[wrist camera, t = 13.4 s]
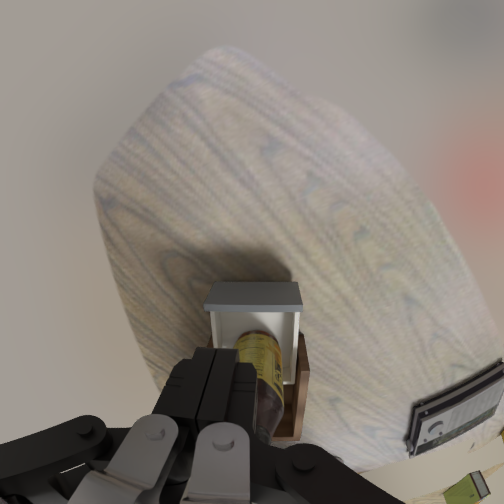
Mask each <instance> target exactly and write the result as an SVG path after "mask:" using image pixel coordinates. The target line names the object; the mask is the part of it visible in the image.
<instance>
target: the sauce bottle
mask: <svg viewBox="0 0 504 504" xmlns="http://www.w3.org/2000/svg"><path fill="white" fill-rule="evenodd" d="M233 349H239V358H240V362H248V363H253V365H254V367H255V369H256V371H257V390H258V403H257V416H256V429H255V435H256V436H257V438H258V439H259V440H261V441H262V442H263V443H265V444H267V445H270V443H271V441H272V440H271V438H272V436H273V434H274V432H275V430H276V428H277V426H278V424H279V422H280V420H281V419H282V417H283V414H284V396H283V373H282V354H281V349H280V347H279V344H278V341H277V339H276V338H275V337H274V336H272V335H270V334H269V333H267V332H265V331H261V330H253V331H248V332H245V333H243V334H242V335H241V336H240V337H239V338H238V339H237V341H236V343H235V345H234V347H233Z"/></svg>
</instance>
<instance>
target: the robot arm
mask: <svg viewBox="0 0 504 504" xmlns="http://www.w3.org/2000/svg"><path fill="white" fill-rule="evenodd" d="M257 403H258V390H257V371H256V369H255V367H254V365H253V363H248V362H240V358H239V349H230V348H208V347H197V348H196V351H195V353H194V355H193V358H192V360H191V359H182V360H181V361H180V362H179V363H178V364H176V365H175V366H174V368H173V370H172V372H171V374H170V376H169V378H168V380H167V382H166V386H164V388H163V390H162V392H161V395H160V397H159V399H158V401H157V403H156V405H155V407H154V409H153V411H152V414H150V415H147V416H143V417H141V418H140V419H138V420H137V421H136V422H135V423H134V425H133V426H132V427H130V428H107V427H106V425H105V423H104V422H103V421H102V420H101V419H100V418H98V417H96V416H92V415H83V416H79V417H77V418H74V419H72V420H69V421H67V422H64V423H61V424H59V425H57V426H54V427H51V428H48V429H46V430H43V431H40V432H37V433H34V434H31V435H28V436H25V437H23V438H19V439H16V440H13V441H10V442H7V443H4V444H0V504H252V502H253V503H256V504H405V503H404V502H402V501H400V500H398V499H397V498H395V497H393V496H392V495H390V494H388V493H386V492H385V491H384V490H382V489H380V488H379V487H377V486H376V485H374V484H372V483H371V482H369V481H368V480H366V479H365V478H363V477H362V476H360V475H359V474H357V473H356V472H355V471H353V470H352V469H350V468H349V467H347V466H346V465H345V464H344V462H343V460H342V459H340V458H336V457H334V456H332V455H331V454H329V453H328V452H327V451H325V450H324V449H323V448H321V447H319V446H317V445H313V444H304V443H303V444H296V445H292V446H290V447H288V448H286V449H281V448H277V447H273V446H270V445H267V444H265V443H263V442H262V441H261V440H259V439H258V438H257V436H256V435H255V429H256V416H257ZM83 463H85V464H84V465H82V466H79V467H77V468H74V469H72V470H69V471H67V472H64V473H60V472H63V471H66V470H68V469H71V468H73V467H76V466H78V465H81V464H83Z"/></svg>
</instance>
